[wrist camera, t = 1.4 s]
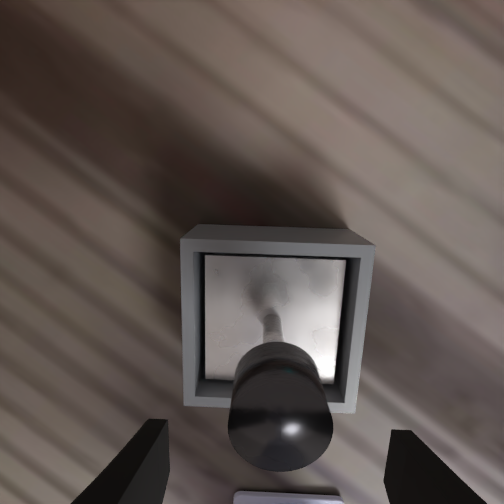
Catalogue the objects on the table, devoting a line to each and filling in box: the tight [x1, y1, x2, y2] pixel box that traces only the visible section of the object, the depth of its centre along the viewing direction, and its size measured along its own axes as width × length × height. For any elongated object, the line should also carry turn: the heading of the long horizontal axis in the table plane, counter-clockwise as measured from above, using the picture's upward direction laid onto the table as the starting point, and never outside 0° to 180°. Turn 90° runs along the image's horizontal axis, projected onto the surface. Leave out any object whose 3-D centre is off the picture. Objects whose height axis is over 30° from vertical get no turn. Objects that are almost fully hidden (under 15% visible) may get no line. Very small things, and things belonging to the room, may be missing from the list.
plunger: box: [205, 253, 346, 472], centre depth 14 cm, size 7×7×8 cm
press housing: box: [180, 224, 376, 413], centre depth 18 cm, size 9×9×4 cm
